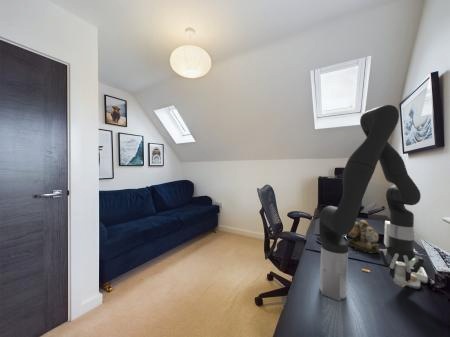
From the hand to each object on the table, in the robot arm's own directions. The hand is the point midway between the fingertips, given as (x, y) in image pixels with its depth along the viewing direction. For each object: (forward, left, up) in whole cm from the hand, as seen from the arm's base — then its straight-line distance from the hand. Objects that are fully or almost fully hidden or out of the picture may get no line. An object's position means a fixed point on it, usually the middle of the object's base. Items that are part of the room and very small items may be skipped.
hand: (399, 278), depth 79 cm
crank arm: (+5, -2, -3) cm, 6 cm away
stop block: (+20, -6, -4) cm, 21 cm away
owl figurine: (+42, +14, -6) cm, 45 cm away
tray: (+20, -6, -5) cm, 21 cm away
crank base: (+10, +2, -5) cm, 12 cm away
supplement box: (+58, -2, -5) cm, 58 cm away
